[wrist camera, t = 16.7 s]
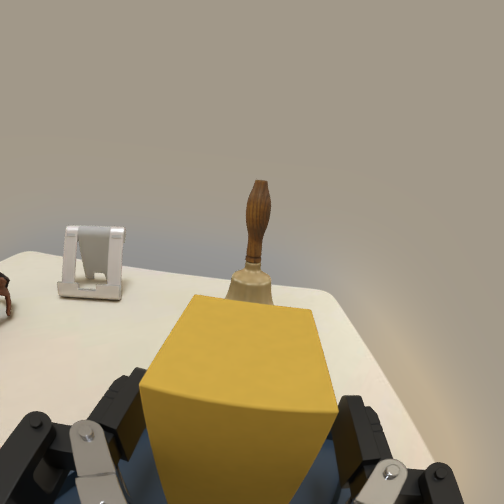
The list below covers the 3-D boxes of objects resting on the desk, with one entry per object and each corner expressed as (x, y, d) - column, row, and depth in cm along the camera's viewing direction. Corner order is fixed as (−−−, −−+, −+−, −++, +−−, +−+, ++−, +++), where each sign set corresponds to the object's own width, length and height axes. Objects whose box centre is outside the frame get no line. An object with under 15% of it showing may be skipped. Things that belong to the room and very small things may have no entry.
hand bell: (209, 332, 29) (222, 175, 25) (214, 300, 37) (226, 176, 33) (286, 338, 29) (311, 187, 25) (277, 305, 37) (294, 184, 33)
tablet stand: (58, 298, 29) (52, 234, 27) (75, 277, 36) (72, 222, 34) (119, 302, 32) (117, 236, 30) (127, 279, 39) (127, 224, 37)
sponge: (274, 447, 14) (311, 308, 12) (272, 528, 8) (340, 411, 6) (193, 436, 14) (194, 293, 12) (170, 514, 8) (137, 383, 6)
